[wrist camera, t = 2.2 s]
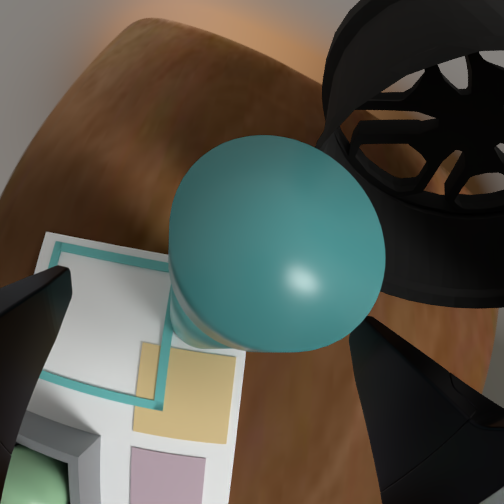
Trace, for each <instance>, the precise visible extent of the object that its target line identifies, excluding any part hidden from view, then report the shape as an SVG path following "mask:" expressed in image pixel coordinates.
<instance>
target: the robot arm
mask: <svg viewBox="0 0 504 504" xmlns="http://www.w3.org/2000/svg"><path fill="white" fill-rule="evenodd" d="M71 298H72V281H71V271H70V269H69V268H68V267H64V266H60V265H56V266H54V267H51V268H49V269H46V270H44V271H41V272H39V273H36V274H34V275H31V276H29V277H26V278H24V279H21V280H19V281H17V282H14V283H12V284H10V285H7V286H5V287H2V288H0V503H1V498H2V493H3V489H4V484H5V480H6V476H7V472H8V468H9V464H10V460H11V457H12V456H11V455H12V452H13V449H14V446H15V442H16V439H17V436H18V433H19V430H20V427H21V424H22V421H23V418H24V415H25V412H26V410H27V407H28V404H29V402H30V399H31V396H32V394H33V391H34V389H35V386H36V384H37V381H38V379H39V377H40V374H41V372H42V369H43V367H44V365H45V363H46V360H47V358H48V356H49V354H50V352H51V349H52V347H53V345H54V343H55V341H56V338H57V336H58V333H59V330H60V328H61V325H62V322H63V319H64V317H65V314H66V311H67V309H68V306H69V304H70V301H71ZM349 345H350V351H351V357H352V364H353V370H354V376H355V382H356V386H357V390H358V394H359V398H360V402H361V406H362V410H363V414H364V418H365V422H366V426H367V431H368V435H369V439H370V444H371V448H372V453H373V458H374V462H375V467H376V472H377V477H378V482H379V487H380V492H381V493H380V494H381V499H382V504H504V408H502V407H501V406H499V405H497V404H496V403H494V402H493V401H491V400H490V399H488V398H486V397H485V396H483V395H482V394H480V393H479V392H477V391H476V390H474V389H473V388H471V387H470V386H468V385H467V384H465V383H464V382H463V381H461V380H460V379H458V378H457V377H456V376H454V375H453V374H452V373H449V371H447V370H446V369H445V368H443V367H442V366H441V365H439V364H438V363H436V362H435V361H434V360H432V359H431V358H429V357H428V356H427V355H425V354H424V353H423V352H421V351H420V350H418V349H417V348H416V347H414V346H413V345H411V344H410V343H409V342H407V341H406V340H404V339H403V338H402V337H400V336H399V335H397V334H396V333H395V332H393V331H392V330H390V329H389V328H388V327H386V326H385V325H383V324H382V323H381V322H379V321H378V320H376V319H375V318H374V317H371V316H366V317H365V319H364V320H363V321H362V322H361V323H360V324H359V325H358V326H357V327H356V328H355V329H354V330H353V331H352V332H351V334H350V336H349Z"/></svg>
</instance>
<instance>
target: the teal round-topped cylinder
mask: <svg viewBox="0 0 504 504" xmlns="http://www.w3.org/2000/svg"><path fill="white" fill-rule="evenodd" d="M168 268H169V275H170V281H171V300H170V321H171V325H172V328H173V330H174V332H175V333H176V335H177V336H178V337H179V338H180V339H181V340H182V341H183V342H185V343H186V344H188V345H190V346H192V347H195V348H199V349H237V350H242V351H247V352H302V351H310V350H315V349H318V348H322V347H325V346H328V345H330V344H332V343H334V342H336V341H338V340H340V339H342V338H343V337H345V336H346V335H348V334H349V333H351V332H352V331H353V330H354V329H355V328H356V327H357V326H358V325H359V324H360V323H361V322H362V321H363V320H364V319H365V317H366V316H367V315H368V314H369V312H370V310H371V309H372V307H373V305H374V304H375V302H376V299H377V297H378V295H379V292H380V290H381V286H382V282H383V278H384V271H385V245H384V238H383V233H382V229H381V225H380V222H379V219H378V216H377V214H376V212H375V209H374V207H373V205H372V203H371V201H370V200H369V198H368V196H367V195H366V193H365V191H364V190H363V189H362V187H361V186H360V185H359V183H358V182H357V181H356V180H355V179H354V177H353V176H352V175H351V174H350V173H349V172H348V171H347V170H346V169H345V168H344V167H343V166H341V165H340V164H339V163H338V162H337V161H335V160H334V159H333V158H331V157H330V156H328V155H327V154H325V153H323V152H322V151H320V150H318V149H316V148H314V147H312V146H310V145H308V144H305V143H303V142H300V141H297V140H294V139H290V138H286V137H280V136H272V135H255V136H246V137H241V138H237V139H233V140H231V141H228V142H225V143H223V144H221V145H219V146H217V147H215V148H213V149H211V150H210V151H209V152H207V153H206V154H205V155H203V156H202V157H201V158H200V159H199V160H198V161H197V162H196V163H195V164H194V165H193V166H192V167H191V168H190V169H189V171H188V172H187V173H186V175H185V176H184V178H183V179H182V181H181V183H180V185H179V187H178V189H177V191H176V194H175V197H174V200H173V203H172V209H171V215H170V224H169V251H168Z"/></svg>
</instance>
